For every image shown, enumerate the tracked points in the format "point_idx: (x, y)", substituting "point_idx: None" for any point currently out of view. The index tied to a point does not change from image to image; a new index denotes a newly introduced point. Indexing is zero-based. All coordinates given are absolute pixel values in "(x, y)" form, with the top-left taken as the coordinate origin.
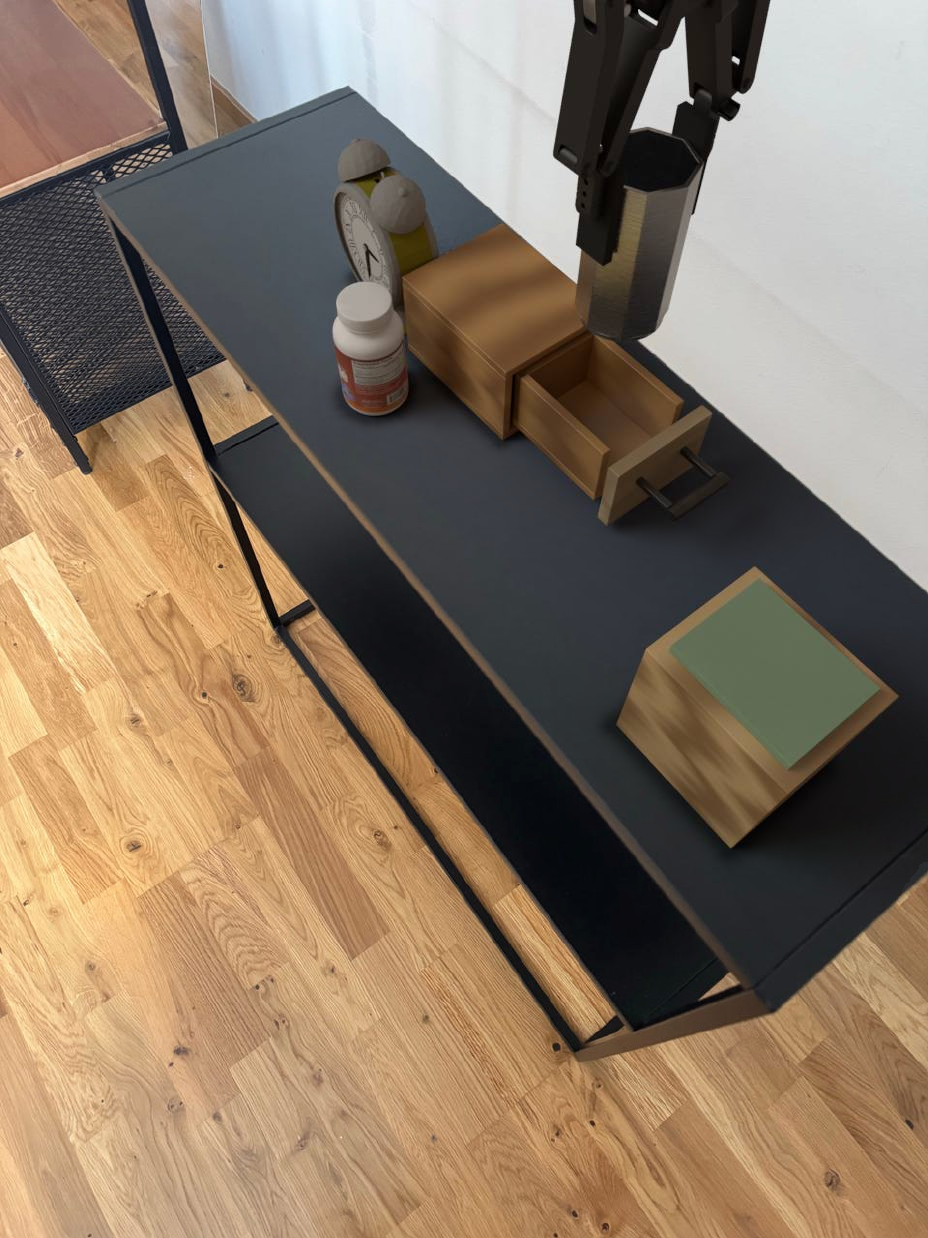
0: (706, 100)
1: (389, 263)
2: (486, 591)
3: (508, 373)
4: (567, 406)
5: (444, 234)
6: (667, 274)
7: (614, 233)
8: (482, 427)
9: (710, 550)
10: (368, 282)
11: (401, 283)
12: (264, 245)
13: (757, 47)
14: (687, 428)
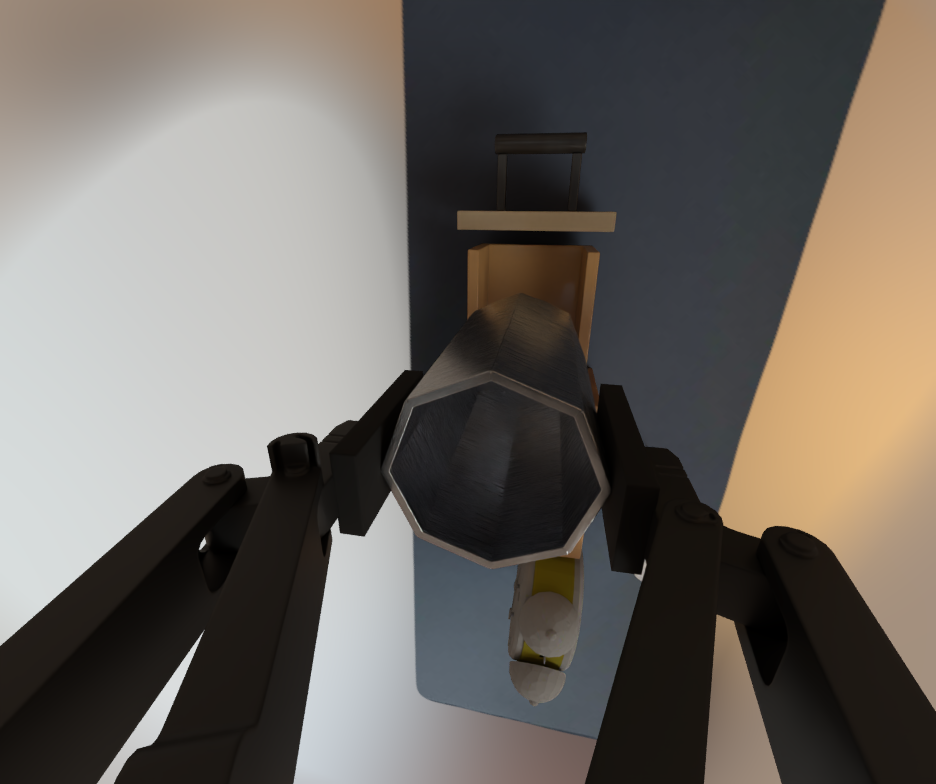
0: (322, 504)
1: (582, 577)
2: (756, 237)
3: (597, 404)
4: None
5: (456, 562)
6: (513, 315)
7: (611, 409)
8: None
9: (537, 113)
10: (638, 577)
11: None
12: (583, 646)
13: (143, 533)
14: (497, 213)
